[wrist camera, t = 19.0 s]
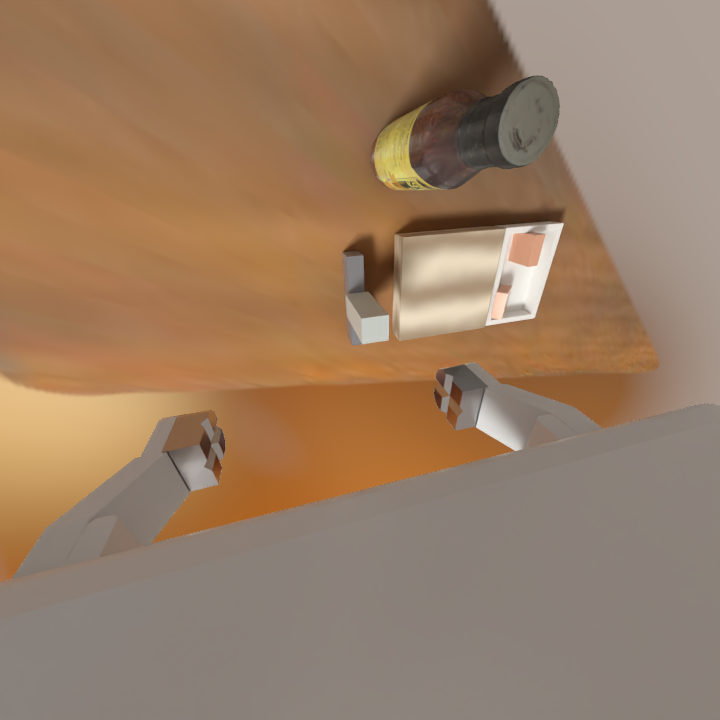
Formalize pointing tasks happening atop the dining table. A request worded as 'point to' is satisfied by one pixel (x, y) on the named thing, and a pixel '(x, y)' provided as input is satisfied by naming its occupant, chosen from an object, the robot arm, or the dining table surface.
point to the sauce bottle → (466, 136)
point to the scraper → (362, 304)
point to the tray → (524, 272)
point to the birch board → (444, 280)
